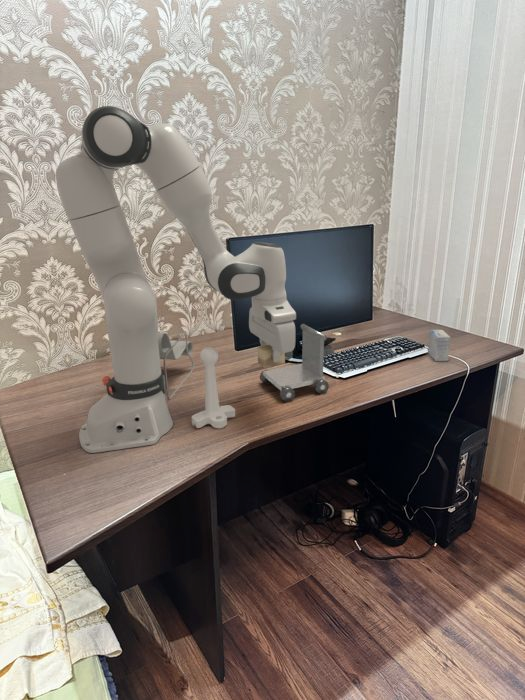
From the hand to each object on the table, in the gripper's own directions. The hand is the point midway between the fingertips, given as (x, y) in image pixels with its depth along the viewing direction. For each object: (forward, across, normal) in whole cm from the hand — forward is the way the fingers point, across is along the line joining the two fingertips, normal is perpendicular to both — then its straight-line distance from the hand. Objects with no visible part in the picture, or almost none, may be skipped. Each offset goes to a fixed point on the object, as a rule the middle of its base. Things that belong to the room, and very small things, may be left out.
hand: (271, 357), depth 122 cm
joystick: (+14, +2, -17) cm, 22 cm away
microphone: (+15, -33, +36) cm, 51 cm away
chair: (+14, -28, -24) cm, 39 cm away
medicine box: (+15, -6, +66) cm, 68 cm away
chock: (+2, 0, 0) cm, 2 cm away
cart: (+14, -7, +10) cm, 19 cm away
